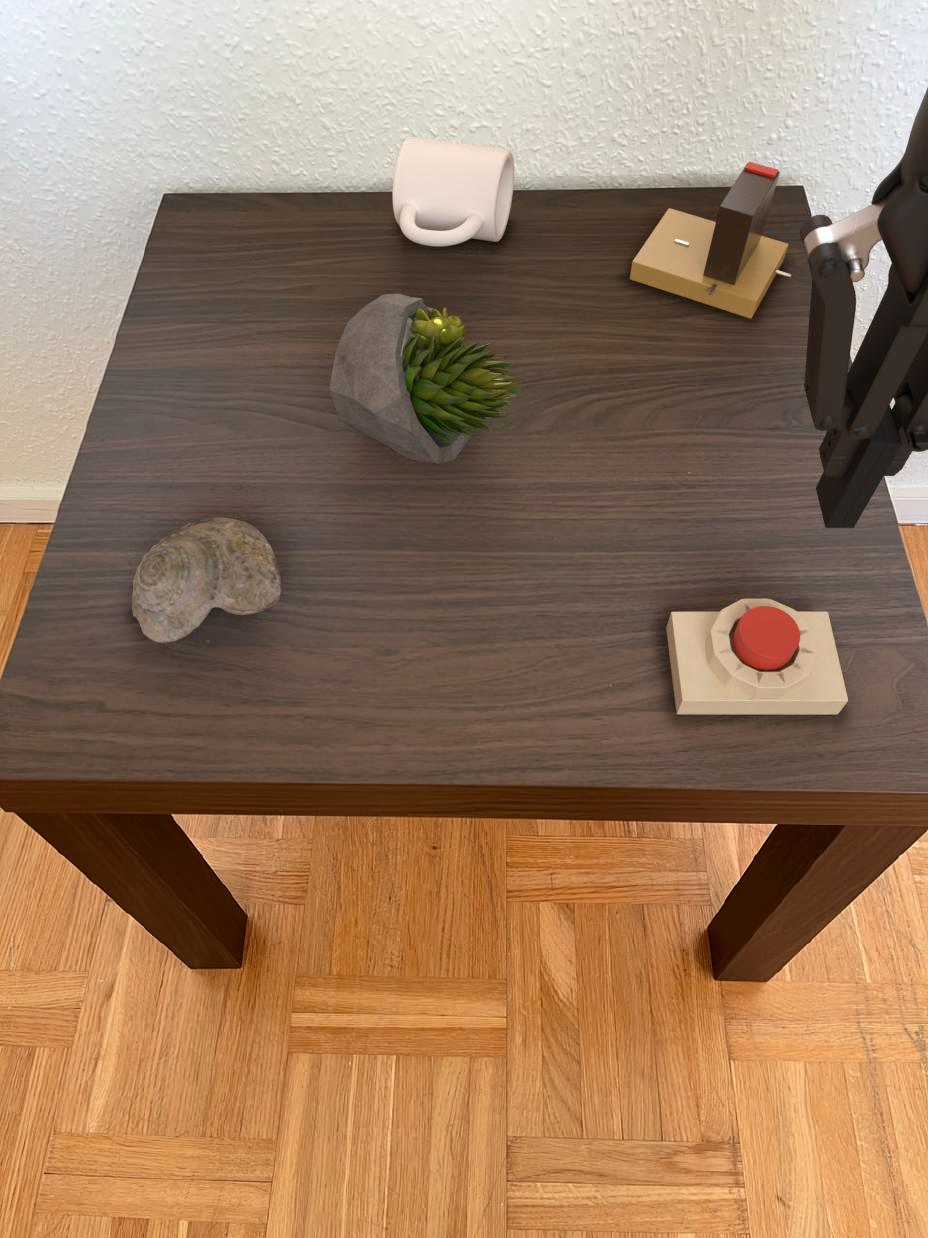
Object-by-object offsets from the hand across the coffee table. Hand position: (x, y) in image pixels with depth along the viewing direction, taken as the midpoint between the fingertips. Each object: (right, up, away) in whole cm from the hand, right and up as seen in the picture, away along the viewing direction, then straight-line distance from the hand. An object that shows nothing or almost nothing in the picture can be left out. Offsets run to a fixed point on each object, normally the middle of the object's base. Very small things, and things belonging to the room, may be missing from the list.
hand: (834, 507), depth 49 cm
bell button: (0, -8, +13) cm, 15 cm away
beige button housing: (0, -9, +16) cm, 18 cm away
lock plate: (+3, +27, +38) cm, 47 cm away
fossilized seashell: (-38, -5, +20) cm, 43 cm away
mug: (-21, +31, +41) cm, 56 cm away
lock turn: (+5, +27, +36) cm, 45 cm away
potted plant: (-22, +10, +29) cm, 38 cm away
